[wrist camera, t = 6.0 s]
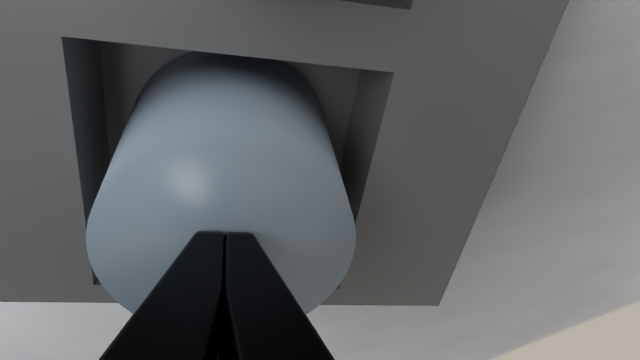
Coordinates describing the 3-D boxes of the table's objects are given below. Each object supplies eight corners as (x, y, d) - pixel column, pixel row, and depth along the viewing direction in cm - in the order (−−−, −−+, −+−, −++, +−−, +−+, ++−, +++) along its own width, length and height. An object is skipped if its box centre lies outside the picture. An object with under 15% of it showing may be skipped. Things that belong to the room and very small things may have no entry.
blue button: (310, 217, 12) (332, 336, 9) (135, 209, 11) (98, 337, 8) (340, 58, 10) (382, 148, 7) (125, 34, 9) (70, 125, 6)
